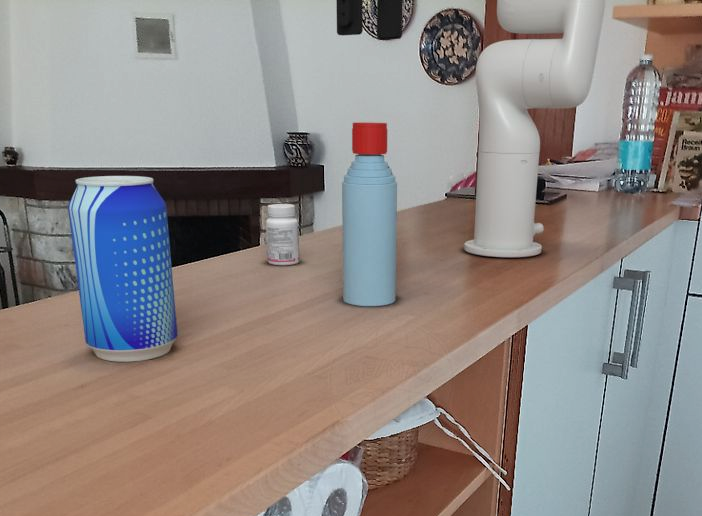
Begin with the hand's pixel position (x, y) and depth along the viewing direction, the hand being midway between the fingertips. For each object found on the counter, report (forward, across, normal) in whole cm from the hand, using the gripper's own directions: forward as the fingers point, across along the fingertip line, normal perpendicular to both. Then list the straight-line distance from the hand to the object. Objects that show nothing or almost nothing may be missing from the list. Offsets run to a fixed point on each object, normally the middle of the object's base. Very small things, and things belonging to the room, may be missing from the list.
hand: (370, 35), depth 85 cm
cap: (+12, 0, 0) cm, 12 cm away
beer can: (+30, +31, -3) cm, 43 cm away
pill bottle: (+30, -9, -25) cm, 40 cm away
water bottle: (+30, 0, 0) cm, 30 cm away
